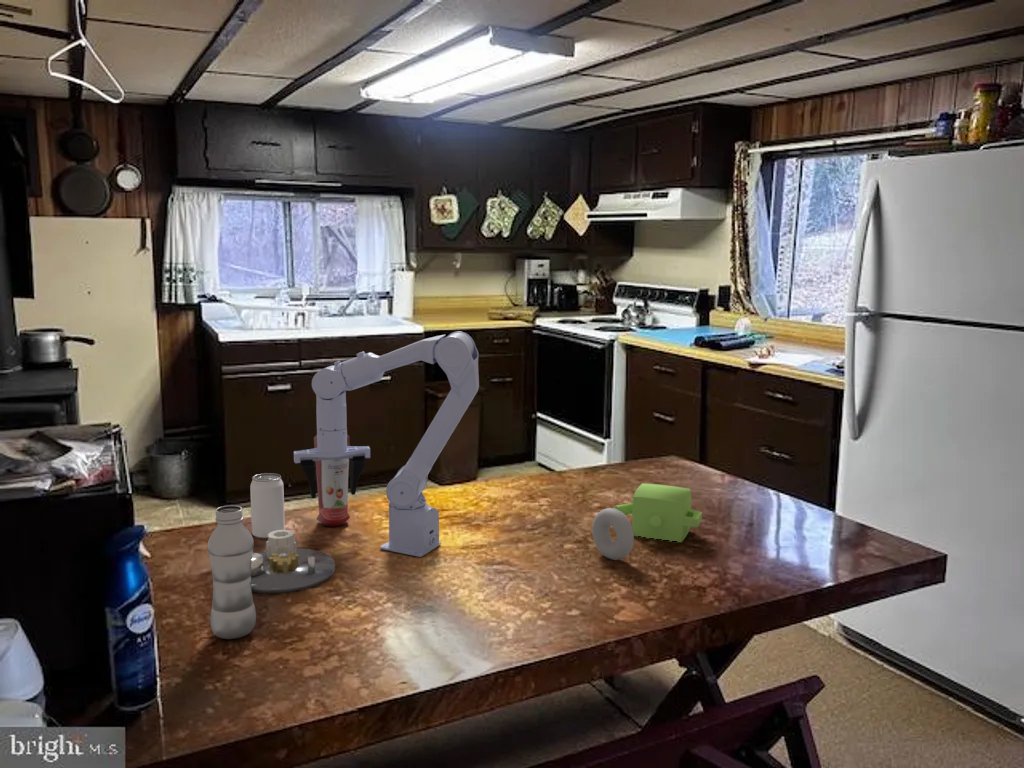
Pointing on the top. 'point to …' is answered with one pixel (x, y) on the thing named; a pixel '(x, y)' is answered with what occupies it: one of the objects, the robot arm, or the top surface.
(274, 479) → the can
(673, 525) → the gearbox
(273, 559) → the carrier
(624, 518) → the donut
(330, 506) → the liquor
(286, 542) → the planet gear
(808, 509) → the top surface
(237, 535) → the plastic bottle
